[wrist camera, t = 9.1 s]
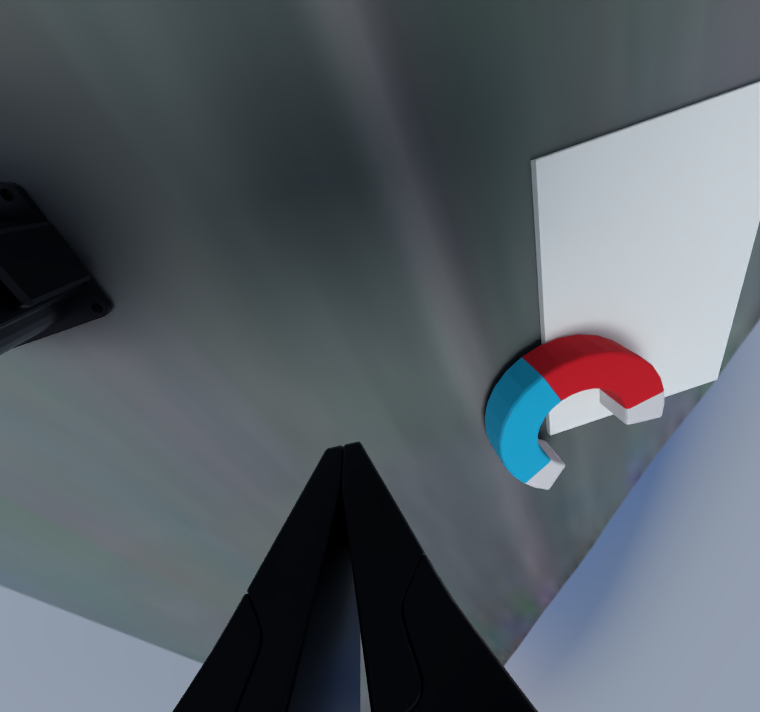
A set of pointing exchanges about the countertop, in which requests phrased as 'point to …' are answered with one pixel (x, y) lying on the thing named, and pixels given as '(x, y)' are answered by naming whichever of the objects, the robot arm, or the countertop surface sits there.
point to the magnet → (557, 382)
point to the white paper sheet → (650, 240)
